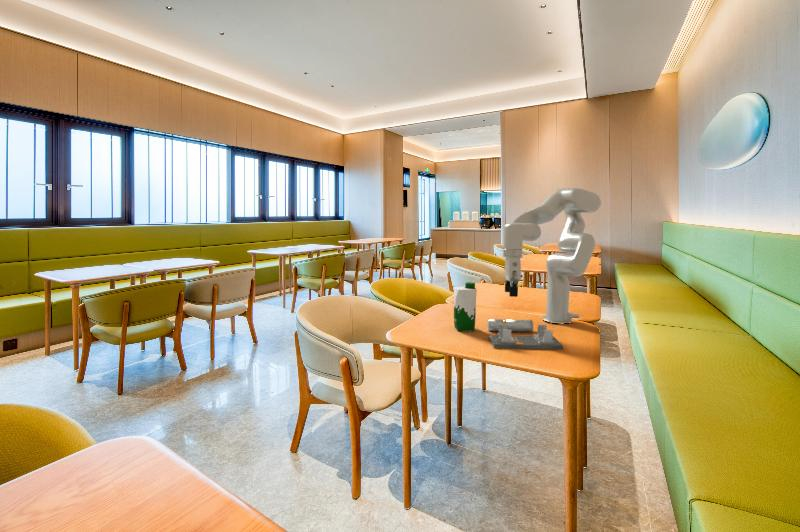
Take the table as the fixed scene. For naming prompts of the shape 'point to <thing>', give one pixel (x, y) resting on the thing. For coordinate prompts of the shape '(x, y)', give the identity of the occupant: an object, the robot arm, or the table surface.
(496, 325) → the banded metal cylinder
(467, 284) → the milk carton
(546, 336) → the cylinder mounting fixture
